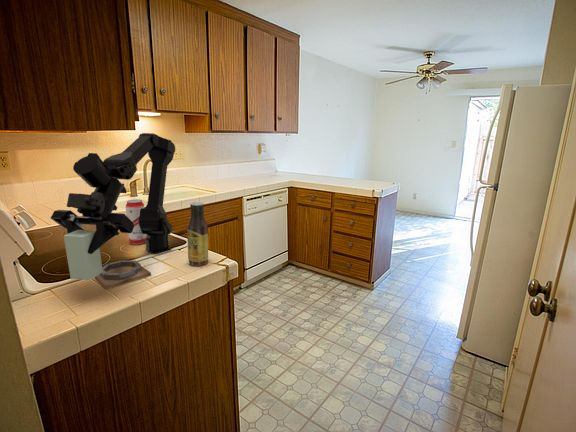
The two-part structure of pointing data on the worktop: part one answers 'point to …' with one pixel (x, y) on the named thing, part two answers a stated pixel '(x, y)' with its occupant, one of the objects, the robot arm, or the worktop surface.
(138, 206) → the beer can
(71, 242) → the sage block
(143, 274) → the seat board
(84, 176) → the robot arm
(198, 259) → the sauce bottle
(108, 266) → the seat ring
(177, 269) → the worktop surface
